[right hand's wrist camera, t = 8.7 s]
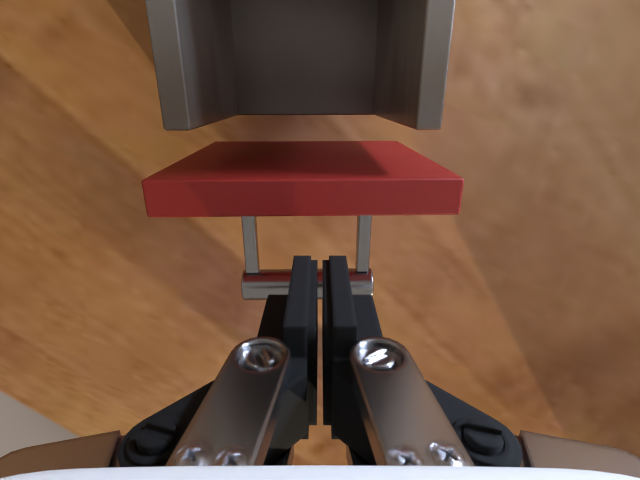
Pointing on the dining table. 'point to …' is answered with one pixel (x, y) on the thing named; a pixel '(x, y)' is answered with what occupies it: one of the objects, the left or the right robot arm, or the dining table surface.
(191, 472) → the right robot arm
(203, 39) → the drawer
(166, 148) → the dining table surface
